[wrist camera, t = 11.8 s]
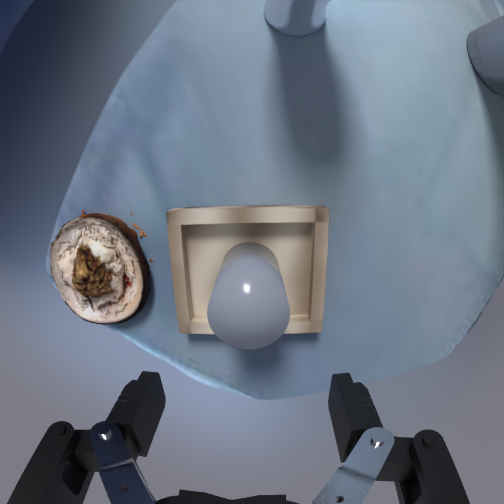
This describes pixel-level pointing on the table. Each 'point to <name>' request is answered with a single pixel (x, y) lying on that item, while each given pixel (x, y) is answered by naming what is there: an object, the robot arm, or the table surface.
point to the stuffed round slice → (100, 268)
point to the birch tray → (249, 230)
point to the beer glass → (296, 15)
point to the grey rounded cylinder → (249, 298)
